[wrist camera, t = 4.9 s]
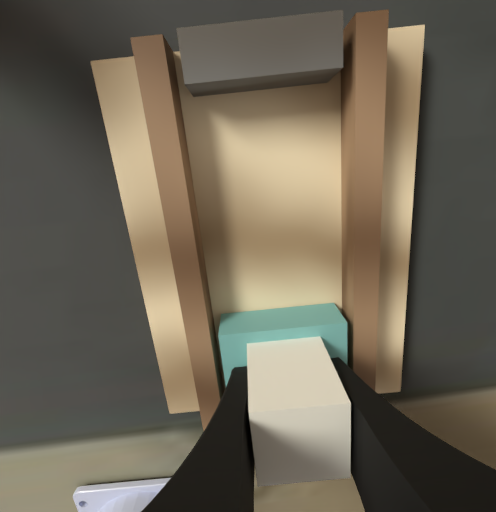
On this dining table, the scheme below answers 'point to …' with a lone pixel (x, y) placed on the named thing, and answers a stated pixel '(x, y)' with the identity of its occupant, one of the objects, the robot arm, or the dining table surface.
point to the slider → (292, 390)
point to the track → (268, 183)
